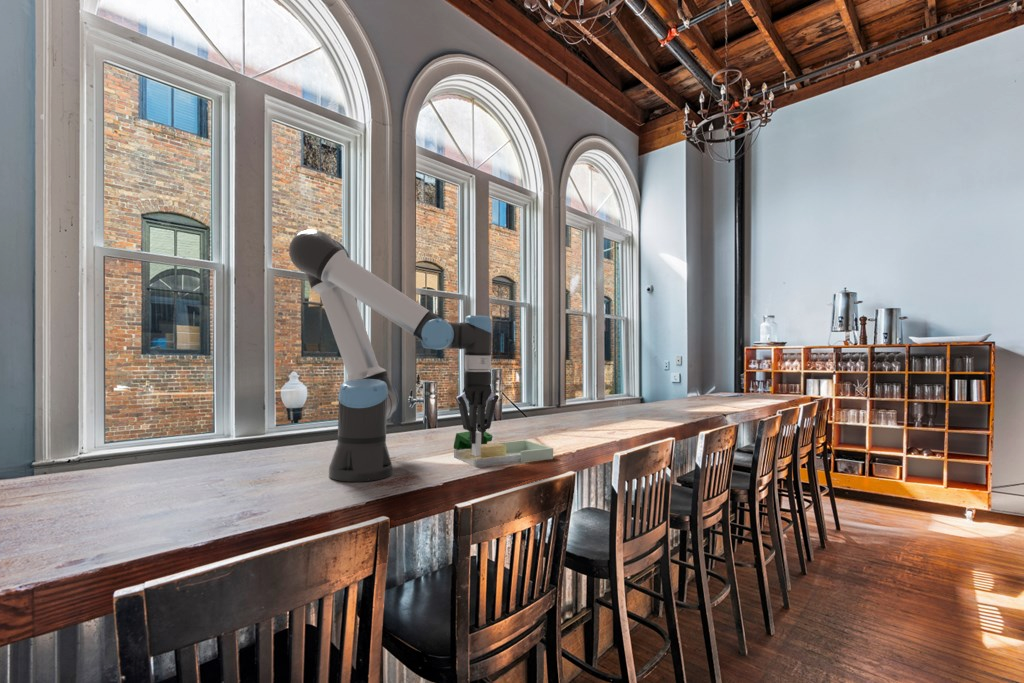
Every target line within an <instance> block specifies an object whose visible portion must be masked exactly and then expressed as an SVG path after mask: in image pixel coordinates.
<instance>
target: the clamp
mask: <svg viewBox="0 0 1024 683" xmlns="http://www.w3.org/2000/svg"><path fill="white" fill-rule="evenodd" d="M477 431H478V430H477ZM469 437H470V432H469V431H462V432H457V433H456V434H455V438H454V443H453V449H454V450H462V449H472V444H471V443H470V441H469ZM493 437H494V436H493V435H492V434H491V433H489V432H487V431H485V432H484V441H483V443H481V444H488V442H489V443H490V442H492V441H493Z"/></svg>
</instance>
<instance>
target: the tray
mask: <svg viewBox="0 0 1024 683" xmlns="http://www.w3.org/2000/svg"><path fill="white" fill-rule="evenodd" d="M497 443H501V444H504V445H506V455H514V454H519V455H520V462H519V463H528V462H529V463H530V462H539V461H545V460H553V459H554V447H549V446H547V445H543V444H540V443H537V442H534V441H531V440H527V439H522V440H510V441H498V442H497Z"/></svg>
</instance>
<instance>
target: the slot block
mask: <svg viewBox="0 0 1024 683" xmlns="http://www.w3.org/2000/svg"><path fill="white" fill-rule="evenodd" d="M453 458H454V459H457V460H458V461H461V462H463V463H465V464H468V465H470V466H471V467H474V468H482V467H490V466H491V467H492V466H498V465H507V464H518V463H521V462H520V455H519V454H514V455H505V456H496V457H486V458H477V459H475V455H472V449H460V450H456V449H454V450H453Z"/></svg>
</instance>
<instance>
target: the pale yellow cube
mask: <svg viewBox="0 0 1024 683" xmlns="http://www.w3.org/2000/svg"><path fill="white" fill-rule="evenodd" d="M488 444H489V445H492V446H494V457H496V456H505V455H506V445H504V444H501V443H498V442H493V443H488Z"/></svg>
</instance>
